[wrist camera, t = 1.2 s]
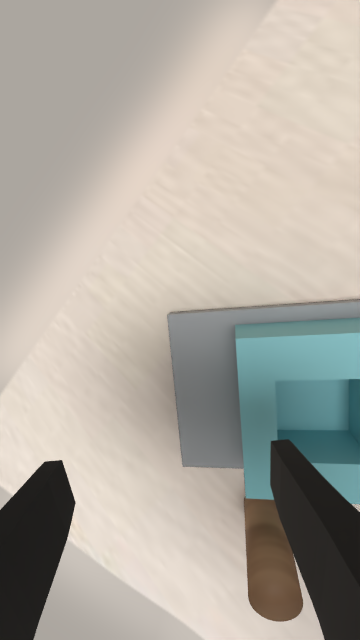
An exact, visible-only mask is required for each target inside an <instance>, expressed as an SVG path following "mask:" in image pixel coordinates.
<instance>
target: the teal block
mask: <svg viewBox="0 0 360 640" xmlns="http://www.w3.org/2000/svg"><path fill="white" fill-rule="evenodd" d="M235 337H236V353H237V369H238V384H239V400H240V415H241V431H242V446H243V462H244V478H245V493H246V498H250V499H269V500H274V497H273V494H272V490H271V486H270V451H271V441H274V440H284V439H289V440H290V441H291V442H292V443H293V444H294V445H295V446H296V447H297V448H298V449H299V451H300V452H301V453H302V454H303V455H304V456H305V457H306V458H307V459H308V461H309V462H310V463H311V464H312V465H313V466H314V467H315V468H316V469H317V470H318V471H319V472H320V473H321V475H322V476H323V477H324V478H325V479H326V480H327V481H328V482H329V483H330V484H331V485H332V486H333V487H334V488H335V489H336V490H337V491H338V492H339V493H340V494H341V495H342V496H343V497H344V498H345V499H346V500H347V501H348V502H349V503H350V504H360V318H345V319H327V320H310V321H293V322H276V323H258V324H241V325H235Z"/></svg>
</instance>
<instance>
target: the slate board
mask: <svg viewBox="0 0 360 640" xmlns="http://www.w3.org/2000/svg"><path fill="white" fill-rule="evenodd" d="M167 317H168V327H169V337H170V347H171V357H172V366H173V376H174V386H175V396H176V406H177V415H178V425H179V435H180V445H181V455H182V464H183V467H212V468H242V469H244V462H243V446H242V431H241V415H240V400H239V384H238V369H237V353H236V337H235V325H241V324H258V323H276V322H293V321H310V320H327V319H345V318H360V299H357V300H342V301H328V302H313V303H299V304H284V305H269V306H255V307H240V308H226V309H211V310H197V311H182V312H170V313H169V314H168V315H167Z"/></svg>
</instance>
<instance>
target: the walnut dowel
mask: <svg viewBox="0 0 360 640" xmlns="http://www.w3.org/2000/svg"><path fill="white" fill-rule="evenodd" d="M244 512H245V534H246V556H247V578H248V598H249V602H250V604H251V606H252V608H253V609H254V610H255V611H256V612H257V613H258V614H259V615H261V616H262V617H264V618H266V619H269V620H272V621H288V620H291V619H293V618H295V617H297V616H298V615H299V614H300V612H301V610H302V608H303V599H302V594H301V589H300V585H299V580H298V575H297V570H296V565H295V561H294V556H293V552H292V549H291V547H290V544H289V542H288V539H287V536H286V534H285V531H284V529H283V526H282V523H281V521H280V518H279V515H278V511H277V508H276V504H275V501H274V500H269V499H250V498H246V496H245V498H244Z"/></svg>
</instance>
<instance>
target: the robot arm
mask: <svg viewBox="0 0 360 640" xmlns="http://www.w3.org/2000/svg"><path fill="white" fill-rule="evenodd" d="M270 486H271V490H272V494H273V497H274V501H275V504H276V508H277V511H278V515H279V518H280V521H281V523H282V526H283V529H284V531H285V534H286V536H287V539H288V542H289V544H290V547H291V549H292V552H293V554H294V557H295V559H296V562H297V565H298V567H299V570H300V572H301V575H302V577H303V580H304V582H305V585H306V588H307V590H308V593H309V595H310V598H311V600H312V603H313V606H314V609H315V611H316V614H317V617H318V620H319V623H320V626H321V629H322V632H323V635H324V639H325V640H360V512H359V511H358V510H357V509H356V508H355V507H354V506H352V505H351V504H350V503H349V502H348V501H347V500H346V499H345V498H344V497H343V496H342V495H341V494H340V493H339V492H338V491H337V490H336V489H335V488H334V487H333V486H332V485H331V484H330V483H329V482H328V481H327V480H326V479H325V478H324V477H323V476H322V475H321V473H320V472H319V471H318V470H317V469H316V468H315V467H314V466H313V465H312V464H311V463H310V462H309V461H308V459H307V458H306V457H305V456H304V455H303V454H302V453H301V452H300V451H299V449H298V448H297V447H296V446H295V445H294V444H293V443H292V442H291V441H290V440H289V439H284V440H274V441H271V451H270ZM74 507H75V500H74V496H73V493H72V490H71V487H70V484H69V481H68V478H67V474H66V471H65V468H64V465H63V462H62V460H59V461H48V462H44V463H43V464H42V465H41V466H40V467H39V468H38V469H37V470H36V472H35V473H34V474H33V475H32V476H31V477H30V478H29V479H28V480H27V481H26V483H25V484H24V485H23V486H22V487H21V488H20V489H19V490H18V491H17V492H16V494H15V495H14V496H13V497H12V498H11V499H10V500H9V501H8V502H7V503H6V505H4V507H3V508H2V509H1V510H0V640H33V639H34V636H35V632H36V629H37V626H38V623H39V620H40V617H41V614H42V611H43V608H44V605H45V602H46V599H47V596H48V594H49V591H50V588H51V585H52V582H53V579H54V576H55V573H56V570H57V567H58V564H59V562H60V558H61V555H62V552H63V550H64V546H65V544H66V541H67V537H68V534H69V529H70V525H71V521H72V516H73V512H74Z"/></svg>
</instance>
